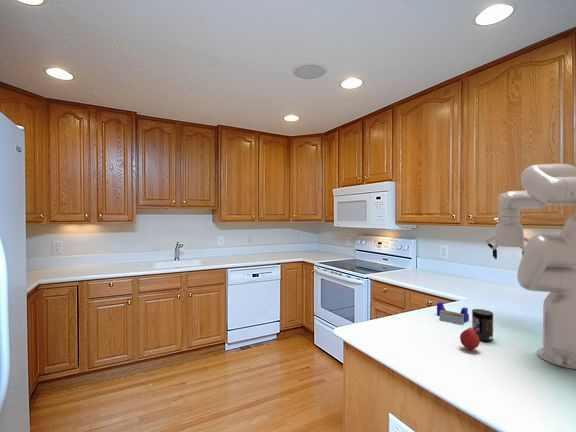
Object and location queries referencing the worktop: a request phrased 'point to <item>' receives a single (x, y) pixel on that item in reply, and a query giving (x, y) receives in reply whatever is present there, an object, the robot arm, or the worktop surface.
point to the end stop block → (452, 317)
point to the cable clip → (463, 311)
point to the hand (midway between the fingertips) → (509, 259)
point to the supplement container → (483, 324)
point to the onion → (469, 339)
